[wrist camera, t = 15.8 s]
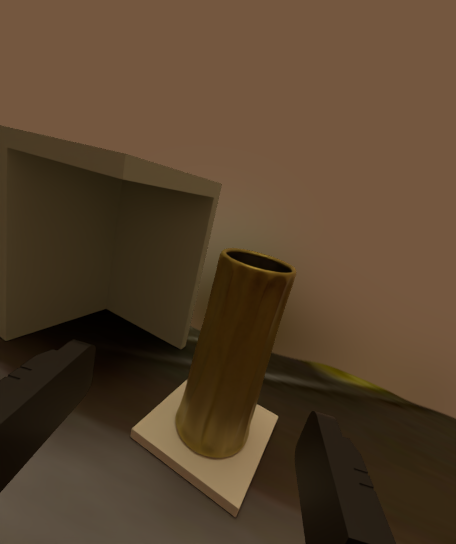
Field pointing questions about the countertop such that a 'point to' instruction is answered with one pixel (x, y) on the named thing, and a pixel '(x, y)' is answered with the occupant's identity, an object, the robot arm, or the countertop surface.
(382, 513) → the robot arm
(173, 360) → the countertop surface
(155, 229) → the shelf nook
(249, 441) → the tile
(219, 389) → the vase
